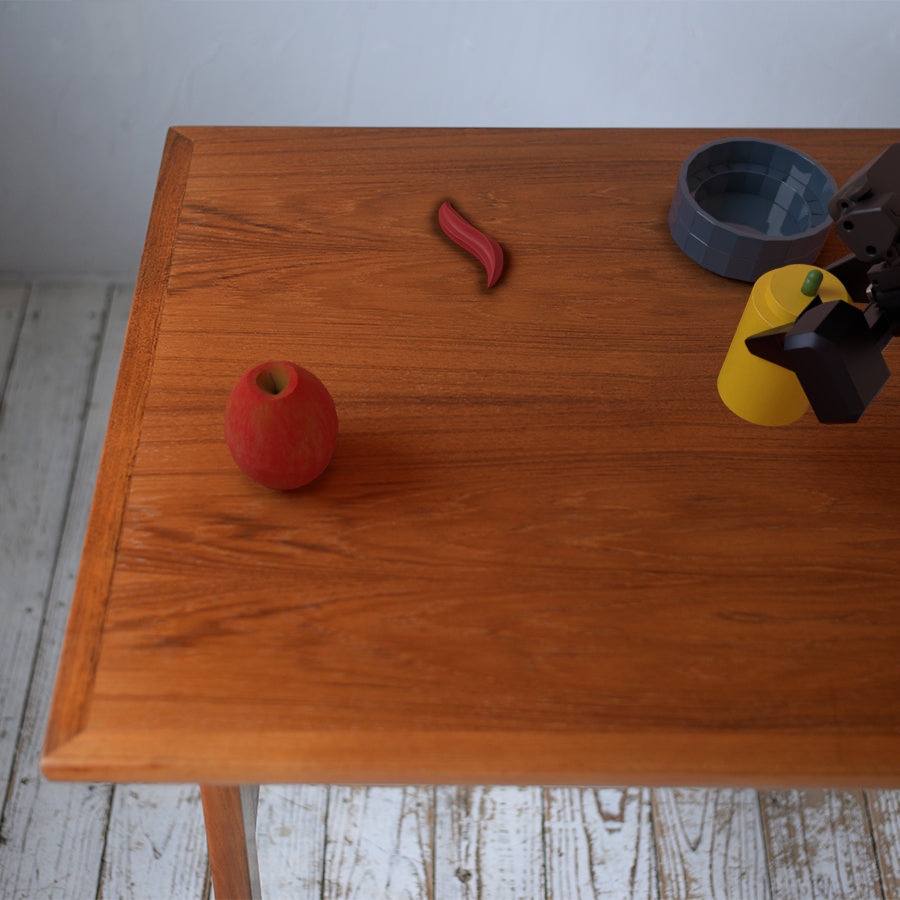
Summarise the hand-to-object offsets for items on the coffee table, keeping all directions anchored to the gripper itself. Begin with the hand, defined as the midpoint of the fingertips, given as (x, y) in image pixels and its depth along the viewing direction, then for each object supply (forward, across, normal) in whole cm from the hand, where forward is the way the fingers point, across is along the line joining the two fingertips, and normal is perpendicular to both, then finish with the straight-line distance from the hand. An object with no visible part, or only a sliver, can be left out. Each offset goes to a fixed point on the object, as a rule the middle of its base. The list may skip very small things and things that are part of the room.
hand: (773, 317), depth 65 cm
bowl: (+18, -22, +2) cm, 29 cm away
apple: (+27, +24, -7) cm, 37 cm away
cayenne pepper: (+30, -4, -11) cm, 33 cm away
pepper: (+4, 0, +6) cm, 7 cm away
